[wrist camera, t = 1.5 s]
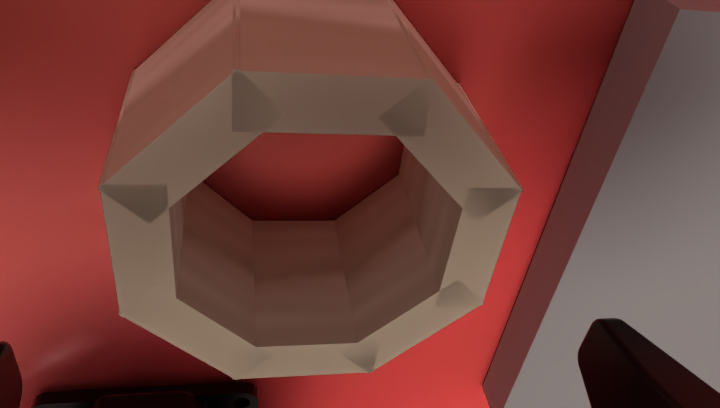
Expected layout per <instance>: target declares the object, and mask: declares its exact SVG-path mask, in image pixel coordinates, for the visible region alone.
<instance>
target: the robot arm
mask: <svg viewBox="0 0 720 408" xmlns="http://www.w3.org/2000/svg"><path fill="white" fill-rule="evenodd" d="M577 359H578V365H579V368H580V372H581V375H582V378H583V382H584V385H585V389H586V392H587V395H588V399H589V402H590V405H591V408H720V393H719V392H718V391H716V390H715V389H714V388H712V387H711V386H710V385H708V384H707V383H706V382H704V381H703V380H702V379H700V378H699V377H698V376H696V375H695V374H694V373H692V372H691V371H690V370H688V369H687V368H686V367H684V366H683V365H682V364H680V363H679V362H678V361H676V360H675V359H674V358H672V357H671V356H670V355H668V354H667V353H666V352H664V351H663V350H662V349H660V348H659V347H658V346H656V345H655V344H654V343H652V342H651V341H650V340H648V339H647V338H646V337H644V336H643V335H642V334H640V333H639V332H638V331H636V330H635V329H634V328H632V327H631V326H630V325H628V324H627V323H626V322H624V321H623V320H621V319H618V318H600V319H596V320H595V321H593V322H592V324H591V326H590V328H589V330H588V332H587V334H586V335H585V337H584V339H583V341H582V343H581V345H580V347H579V350H578V358H577ZM21 395H22V378H21V374H20V371H19V368H18V365H17V362H16V359H15V356H14V353H13V350H12V347H11V345H10V344H9V343H7V342H4V341H1V342H0V408H19V406H20V401H21ZM32 408H258V390H257V387H256V386H255V385H254V384H251V383H248V382H233V383H214V384H196V385H177V386H158V387H139V388H120V389H101V390H82V391H63V392H48V393H42V394H40V395H38V396H36V398H35V399H34V401H33V404H32Z"/></svg>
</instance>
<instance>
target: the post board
mask: <svg viewBox="0 0 720 408" xmlns="http://www.w3.org/2000/svg"><path fill="white" fill-rule="evenodd" d="M600 318H618V319H621V320H623V321H624V322H626V323H627V324H628V325H630V326H631V327H632V328H634V329H635V330H636V331H638V332H639V333H640V334H642V335H643V336H644V337H646V338H647V339H648V340H650V341H651V342H652V343H654V344H655V345H656V346H658V347H659V348H660V349H662V350H663V351H664V352H666V353H667V354H668V355H670V356H671V357H672V358H674V359H675V360H676V361H678V362H679V363H680V364H682V365H683V366H684V367H686V368H687V369H688V370H690V371H691V372H692V373H694V374H695V375H696V376H698V377H699V378H700V379H702V380H703V381H704V382H706V383H707V384H708V385H710V386H711V387H712V388H714V389H715V390H716V391H718V392H719V393H720V0H634V2H633V5H632V7H631V10H630V12H629V15H628V17H627V20H626V23H625V25H624V28H623V30H622V33H621V35H620V38H619V40H618V43H617V45H616V48H615V51H614V53H613V56H612V58H611V61H610V63H609V66H608V68H607V71H606V73H605V76H604V78H603V81H602V84H601V86H600V89H599V91H598V94H597V96H596V99H595V101H594V104H593V106H592V109H591V112H590V114H589V117H588V119H587V122H586V124H585V127H584V129H583V132H582V134H581V137H580V140H579V142H578V145H577V147H576V150H575V152H574V155H573V157H572V160H571V162H570V165H569V167H568V170H567V173H566V175H565V178H564V180H563V183H562V185H561V188H560V190H559V193H558V195H557V198H556V201H555V203H554V206H553V208H552V211H551V213H550V216H549V218H548V221H547V223H546V226H545V229H544V231H543V234H542V236H541V239H540V241H539V244H538V246H537V249H536V251H535V254H534V256H533V259H532V262H531V264H530V267H529V269H528V272H527V274H526V277H525V279H524V282H523V284H522V287H521V290H520V292H519V295H518V297H517V300H516V302H515V305H514V307H513V310H512V312H511V315H510V317H509V320H508V323H507V325H506V328H505V330H504V333H503V335H502V338H501V340H500V343H499V345H498V348H497V351H496V353H495V356H494V358H493V361H492V363H491V366H490V368H489V371H488V373H487V376H486V379H485V381H484V384H483V386H482V387H483V390H484V393H485V395H486V398H487V401H488V404H489V406H490V408H591V405H590V402H589V399H588V395H587V392H586V389H585V385H584V382H583V378H582V375H581V372H580V368H579V365H578V359H577V358H578V350H579V347H580V345H581V343H582V341H583V339H584V337H585V335H586V334H587V332H588V330H589V328H590V326H591V324H592V322H593V321H595V320H596V319H600Z"/></svg>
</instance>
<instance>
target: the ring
mask: <svg viewBox="0 0 720 408" xmlns="http://www.w3.org/2000/svg"><path fill="white" fill-rule="evenodd" d="M263 132H267V133H306V134H346V135H385V136H396V137H397V138H398V139H399V140H400V141H401V142H402V143H403V144H404V149H403V154H402V159H401V164H400V169H399V174H398V175H397V176H396V177H394V178H393V179H392V180H390V181H389V182H387V183H386V184H385V185H383V186H382V187H380V188H379V189H378V190H376V191H375V192H373V193H372V194H371V195H369V196H368V197H366V198H365V199H364V200H362V201H361V202H359V203H358V204H357V205H355V206H354V207H352V208H351V209H350V210H348V211H347V212H345V213H344V214H343V215H341V216H340V217H338V218H337V219H336V220H334V221H252V220H251V219H250V218H248V217H247V216H246V215H244V214H243V213H242V212H241V211H239V210H238V209H237V208H235V207H234V206H233V205H232V204H230V203H229V202H228V201H226V200H225V199H224V198H222V197H221V196H220V195H219V194H217V193H216V192H215V191H213V190H212V189H211V188H210V187H208V186H207V185H206V184H204V183H203V182H202V181H203V180H205V179H206V178H207V177H208V176H210V175H211V174H212V173H213V172H215V171H216V170H217V169H218V168H220V167H221V166H222V165H223V164H225V163H226V162H227V161H228V160H230V159H231V158H232V157H233V156H235V155H236V154H237V153H238V152H239V151H241V150H242V149H243V148H244V147H246V146H247V145H248V144H249V143H251V142H252V141H253V140H254V139H256V138H257V137H258V136H259V135H261V134H262V133H263ZM97 189H98V190H100V193H101V199H102V205H103V212H104V218H105V224H106V230H107V236H108V243H109V249H110V255H111V261H112V267H113V273H114V280H115V286H116V292H117V298H118V304H119V312H118V314H119V315H120V317H124V318H126V319H128V320H129V321H131V322H133V323H135V324H137V325H138V326H140V327H142V328H144V329H146V330H147V331H149V332H151V333H153V334H155V335H156V336H158V337H160V338H162V339H164V340H165V341H167V342H169V343H171V344H173V345H174V346H176V347H178V348H180V349H182V350H183V351H185V352H187V353H189V354H191V355H192V356H194V357H196V358H198V359H200V360H201V361H203V362H205V363H207V364H208V365H210V366H212V367H214V368H216V369H217V370H219V371H221V372H223V373H225V374H226V375H228V376H230V377H232V378H233V379H235V380H238V379H250V378H269V377H289V376H308V375H327V374H346V373H366V372H368V373H370V372H373V371H374V370H375V369H377V368H378V367H380V366H382V365H383V364H385V363H387V362H388V361H390V360H392V359H393V358H395V357H396V356H398V355H400V354H401V353H403V352H405V351H406V350H408V349H410V348H411V347H413V346H414V345H416V344H418V343H419V342H421V341H423V340H424V339H426V338H428V337H429V336H431V335H433V334H434V333H436V332H437V331H439V330H441V329H442V328H444V327H446V326H447V325H449V324H451V323H452V322H454V321H455V320H457V319H459V318H460V317H462V316H464V315H465V314H467V313H469V312H470V311H472V310H473V309H475V308H477V307H478V306H482V304H483V303H484V302H483V300H484V297H485V294H486V291H487V289H488V286H489V283H490V280H491V277H492V274H493V271H494V268H495V266H496V263H497V260H498V257H499V254H500V251H501V248H502V245H503V243H504V240H505V237H506V234H507V231H508V228H509V225H510V222H511V220H512V217H513V214H514V211H515V208H516V205H517V202H518V199H519V196H520V194H521V193H522V192H523V191H522V186H521V185H520V183H519V181H518V180H517V178H516V176H515V175H514V173H513V171H512V170H511V168H510V166H509V165H508V163H507V162H506V160H505V158H504V157H503V155H502V153H501V152H500V150H499V148H498V147H497V145H496V143H495V142H494V140H493V138H492V137H491V135H490V133H489V132H488V130H487V128H486V127H485V125H484V123H483V122H482V120H481V118H480V117H479V115H478V114H477V112H476V110H475V109H474V107H473V105H472V104H471V102H470V100H469V99H468V97H467V95H466V94H465V92H464V90H463V89H462V87H461V85H460V84H459V83H457V82H456V81H455V80H454V79H453V77H452V76H451V75H450V73H449V72H448V71H447V69H446V68H445V67H444V66H443V64H442V63H441V62H440V60H439V59H438V58H437V56H436V55H435V54H434V53H433V51H432V50H431V49H430V47H429V46H428V45H427V44H426V42H425V41H424V40H423V38H422V37H421V36H420V34H419V33H418V32H417V31H416V29H415V28H414V27H413V25H412V24H411V23H410V22H409V20H408V19H407V18H406V16H405V15H404V14H403V12H402V11H401V10H400V9H399V7H398V6H397V5H396V3H395V2H394V1H393V0H211V1H210V2H209V3H208V4H206V5H205V6H204V7H203V8H202V9H201V10H200V11H199V12H198V13H197V14H196V15H194V16H193V17H192V18H191V19H190V20H189V21H188V22H187V23H186V24H185V25H184V26H182V27H181V28H180V29H179V30H178V31H177V32H176V33H175V34H174V35H173V36H172V37H170V38H169V39H168V40H167V41H166V42H165V43H164V44H163V45H162V46H161V47H160V48H158V49H157V50H156V51H155V52H154V53H153V54H152V55H151V56H150V57H149V58H148V59H146V60H145V61H144V62H143V63H142V64H141V65H140V66H139V67H138V68H137V69H133V72H132V74H131V77H130V81H129V84H128V88H127V91H126V94H125V98H124V101H123V104H122V108H121V111H120V114H119V118H118V121H117V125H116V128H115V131H114V135H113V138H112V141H111V145H110V148H109V151H108V155H107V158H106V162H105V165H104V168H103V172H102V175H101V178H100V182H99V185H98V188H97Z"/></svg>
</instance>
